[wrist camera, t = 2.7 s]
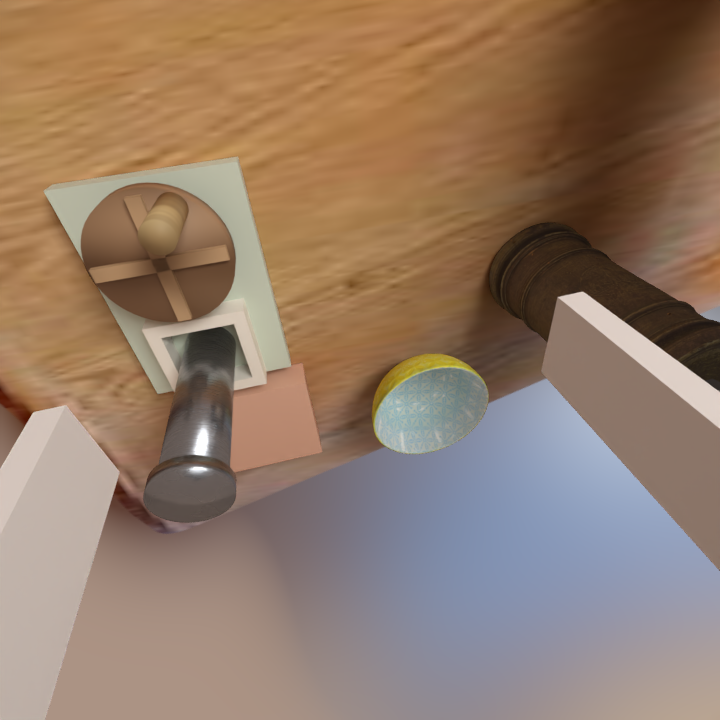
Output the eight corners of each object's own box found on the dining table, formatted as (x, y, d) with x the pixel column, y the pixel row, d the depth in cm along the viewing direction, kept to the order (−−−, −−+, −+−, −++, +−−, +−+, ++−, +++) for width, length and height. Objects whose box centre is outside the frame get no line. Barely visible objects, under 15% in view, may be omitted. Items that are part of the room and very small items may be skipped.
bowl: (340, 365, 41) (352, 407, 36) (444, 309, 39) (471, 346, 34) (385, 427, 48) (400, 469, 43) (475, 382, 46) (501, 420, 41)
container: (474, 257, 36) (614, 389, 22) (568, 199, 35) (780, 302, 21) (503, 324, 42) (629, 464, 28) (585, 277, 40) (761, 399, 26)
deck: (52, 184, 26) (30, 200, 24) (237, 156, 28) (236, 168, 25) (160, 383, 37) (153, 409, 35) (290, 356, 39) (293, 380, 36)
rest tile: (197, 384, 38) (194, 406, 36) (302, 362, 39) (305, 382, 37) (229, 451, 45) (227, 473, 42) (318, 431, 46) (322, 452, 43)
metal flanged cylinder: (171, 327, 33) (127, 482, 21) (231, 315, 33) (221, 461, 22) (192, 372, 36) (164, 530, 24) (247, 361, 36) (245, 510, 24)
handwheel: (58, 195, 24) (7, 234, 19) (212, 171, 25) (202, 203, 20) (127, 322, 30) (102, 378, 25) (250, 298, 31) (250, 348, 26)
